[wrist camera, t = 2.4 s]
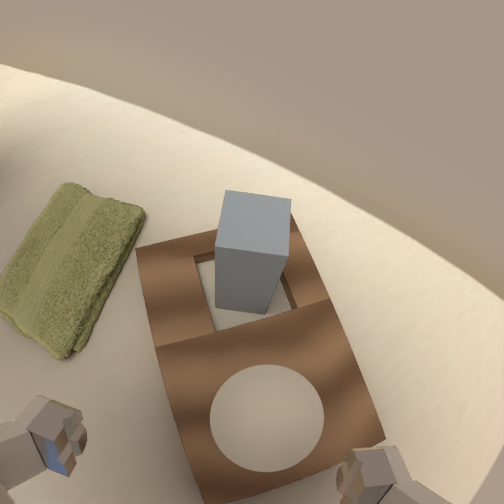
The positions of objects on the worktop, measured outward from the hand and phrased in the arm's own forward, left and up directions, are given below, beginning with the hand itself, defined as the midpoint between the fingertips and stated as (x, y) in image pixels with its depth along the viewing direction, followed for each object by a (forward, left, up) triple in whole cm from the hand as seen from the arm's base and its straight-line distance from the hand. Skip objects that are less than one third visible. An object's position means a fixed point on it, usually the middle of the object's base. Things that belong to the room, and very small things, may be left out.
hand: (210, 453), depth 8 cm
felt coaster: (0, +4, -16) cm, 17 cm away
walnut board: (-6, +5, -18) cm, 20 cm away
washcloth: (-19, -11, -19) cm, 29 cm away
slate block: (-12, +6, -18) cm, 22 cm away
